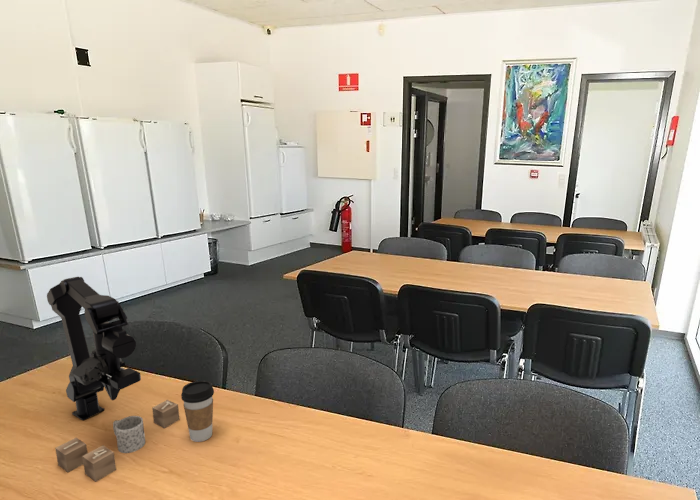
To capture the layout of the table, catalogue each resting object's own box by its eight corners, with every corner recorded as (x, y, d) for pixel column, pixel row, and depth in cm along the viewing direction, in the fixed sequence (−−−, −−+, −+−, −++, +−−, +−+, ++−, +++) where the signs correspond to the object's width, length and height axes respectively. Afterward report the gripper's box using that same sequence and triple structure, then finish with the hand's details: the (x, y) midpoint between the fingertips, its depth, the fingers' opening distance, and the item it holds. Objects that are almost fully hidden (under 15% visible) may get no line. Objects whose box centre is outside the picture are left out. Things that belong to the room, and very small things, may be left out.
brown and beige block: (153, 423, 130) (152, 406, 129) (168, 414, 134) (167, 399, 133) (164, 428, 127) (162, 412, 126) (179, 419, 131) (178, 403, 130)
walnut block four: (85, 474, 109) (82, 455, 108) (105, 462, 113) (102, 444, 112) (95, 482, 106) (93, 463, 105) (116, 470, 110) (113, 451, 109)
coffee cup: (207, 446, 119) (203, 395, 116) (178, 442, 121) (174, 392, 118) (222, 428, 127) (218, 379, 124) (195, 424, 129) (191, 376, 126)
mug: (150, 441, 121) (148, 419, 120) (128, 456, 115) (125, 433, 114) (126, 431, 126) (124, 410, 124) (104, 444, 120) (101, 422, 119)
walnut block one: (58, 465, 112) (55, 447, 111) (78, 454, 116) (76, 436, 115) (68, 472, 110) (65, 454, 108) (88, 461, 114) (86, 443, 113)
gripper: (56, 348, 115) (64, 402, 119) (95, 368, 106) (102, 426, 109) (99, 333, 125) (105, 384, 128) (139, 350, 115) (144, 405, 118)
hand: (113, 399), depth 121 cm, fingers closed
